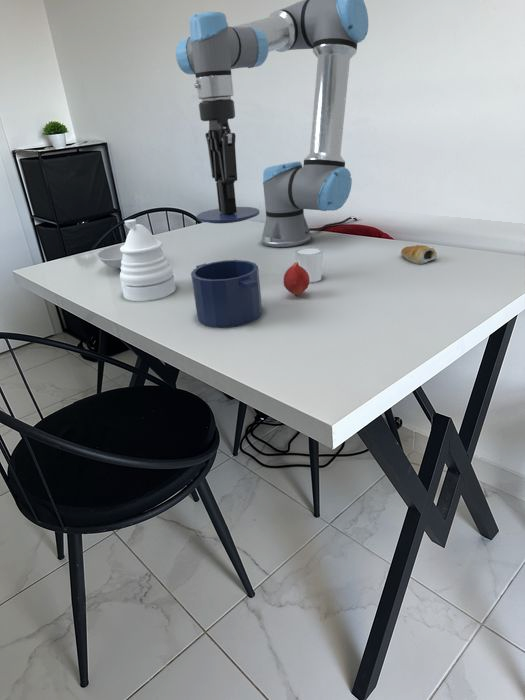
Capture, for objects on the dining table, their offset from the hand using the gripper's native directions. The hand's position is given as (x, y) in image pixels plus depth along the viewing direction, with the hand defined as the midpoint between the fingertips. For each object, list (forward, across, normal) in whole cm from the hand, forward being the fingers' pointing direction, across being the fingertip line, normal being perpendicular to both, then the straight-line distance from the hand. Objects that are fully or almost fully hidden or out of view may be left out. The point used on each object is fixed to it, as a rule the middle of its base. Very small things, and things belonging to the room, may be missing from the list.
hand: (227, 211), depth 118 cm
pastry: (+18, +10, +47) cm, 51 cm away
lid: (+1, 0, 0) cm, 1 cm away
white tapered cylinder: (+18, +7, +17) cm, 26 cm away
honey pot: (+18, -8, -20) cm, 28 cm away
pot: (+18, +18, -8) cm, 26 cm away
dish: (+18, -34, -22) cm, 44 cm away
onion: (+18, +16, +9) cm, 26 cm away
